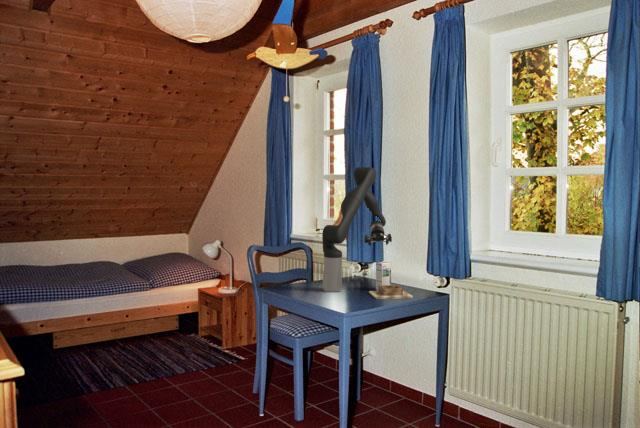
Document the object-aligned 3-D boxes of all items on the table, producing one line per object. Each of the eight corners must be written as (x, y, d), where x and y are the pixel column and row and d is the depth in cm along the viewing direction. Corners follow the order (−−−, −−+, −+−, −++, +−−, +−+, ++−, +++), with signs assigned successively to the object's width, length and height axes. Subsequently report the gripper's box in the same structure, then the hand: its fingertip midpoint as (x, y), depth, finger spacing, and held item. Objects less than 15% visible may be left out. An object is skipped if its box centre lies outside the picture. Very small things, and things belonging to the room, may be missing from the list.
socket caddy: (376, 298, 257) (376, 290, 257) (368, 293, 271) (369, 284, 270) (412, 298, 260) (412, 289, 259) (403, 292, 273) (403, 284, 273)
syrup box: (381, 291, 274) (382, 263, 273) (375, 289, 279) (375, 261, 278) (391, 291, 277) (391, 262, 276) (384, 289, 282) (385, 261, 281)
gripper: (363, 226, 296) (364, 237, 281) (390, 225, 295) (392, 236, 280) (364, 239, 299) (365, 251, 284) (390, 237, 298) (392, 249, 282)
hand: (378, 243), depth 282 cm, fingers open, 8 cm apart
